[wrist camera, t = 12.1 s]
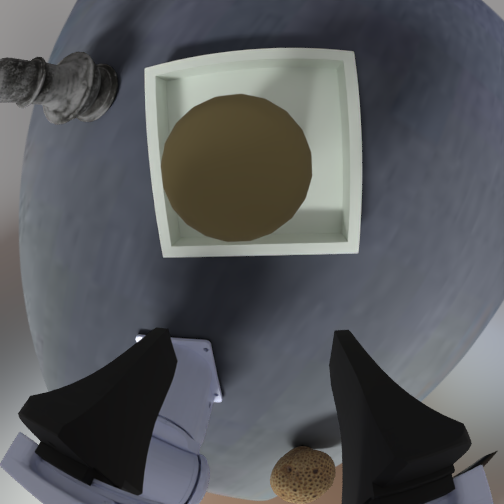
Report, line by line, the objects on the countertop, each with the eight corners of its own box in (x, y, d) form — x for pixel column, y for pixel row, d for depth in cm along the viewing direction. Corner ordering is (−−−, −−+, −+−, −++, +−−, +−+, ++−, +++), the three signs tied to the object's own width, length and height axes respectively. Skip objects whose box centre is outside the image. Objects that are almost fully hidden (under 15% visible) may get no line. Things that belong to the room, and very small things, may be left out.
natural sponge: (278, 430, 30) (275, 495, 20) (341, 431, 29) (349, 492, 20) (268, 455, 33) (263, 508, 24) (322, 456, 33) (325, 507, 24)
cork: (307, 191, 18) (346, 250, 8) (223, 208, 19) (165, 281, 9) (289, 107, 16) (307, 53, 6) (203, 127, 17) (115, 109, 7)
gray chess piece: (125, 107, 17) (-5, 92, 6) (74, 136, 18) (-42, 148, 7) (117, 49, 15) (7, 9, 4) (68, 81, 16) (-37, 71, 5)
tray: (349, 241, 20) (358, 253, 17) (174, 245, 21) (163, 257, 19) (345, 61, 15) (353, 51, 12) (158, 75, 16) (144, 68, 14)
